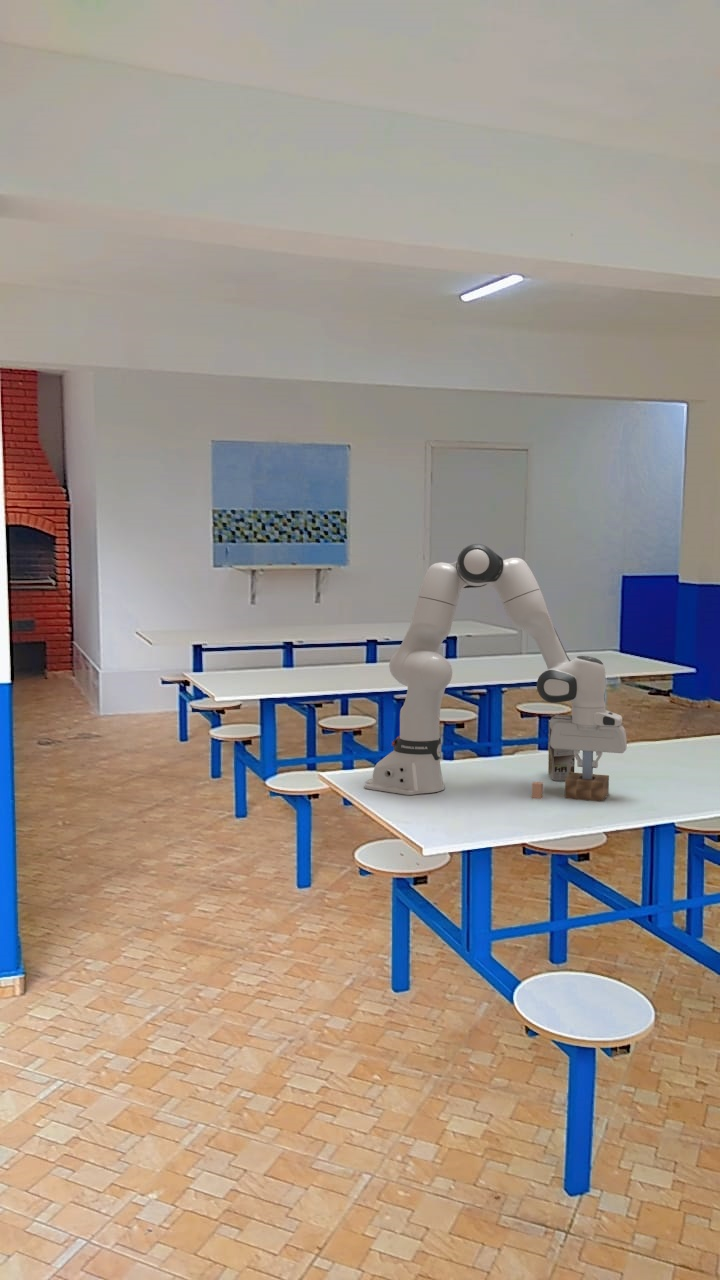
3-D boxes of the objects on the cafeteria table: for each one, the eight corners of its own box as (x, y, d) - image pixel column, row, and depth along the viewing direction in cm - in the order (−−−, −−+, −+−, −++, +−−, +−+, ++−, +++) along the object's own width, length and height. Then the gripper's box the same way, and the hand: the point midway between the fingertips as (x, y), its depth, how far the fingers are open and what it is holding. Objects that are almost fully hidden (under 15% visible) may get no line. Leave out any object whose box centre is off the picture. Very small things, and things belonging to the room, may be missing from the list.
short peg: (532, 798, 271) (532, 783, 270) (534, 796, 273) (534, 781, 272) (540, 798, 270) (541, 784, 269) (542, 797, 272) (543, 782, 272)
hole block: (564, 798, 270) (565, 779, 270) (571, 790, 280) (572, 772, 279) (602, 801, 267) (603, 783, 266) (608, 793, 276) (608, 775, 275)
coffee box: (575, 781, 291) (576, 726, 290) (552, 781, 291) (553, 725, 290) (569, 774, 300) (570, 720, 299) (547, 774, 300) (548, 720, 299)
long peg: (582, 789, 273) (582, 746, 272) (583, 787, 275) (584, 744, 274) (591, 790, 272) (591, 746, 271) (592, 788, 274) (593, 745, 273)
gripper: (547, 715, 272) (547, 766, 274) (625, 720, 265) (624, 772, 266) (552, 712, 278) (551, 761, 279) (628, 716, 271) (627, 767, 272)
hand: (587, 767), depth 273 cm, fingers closed on long peg, 2 cm apart
